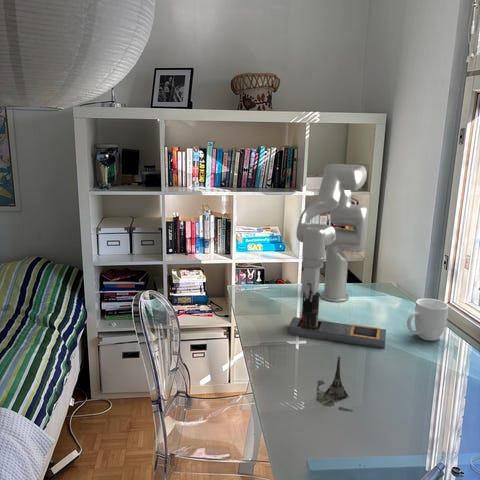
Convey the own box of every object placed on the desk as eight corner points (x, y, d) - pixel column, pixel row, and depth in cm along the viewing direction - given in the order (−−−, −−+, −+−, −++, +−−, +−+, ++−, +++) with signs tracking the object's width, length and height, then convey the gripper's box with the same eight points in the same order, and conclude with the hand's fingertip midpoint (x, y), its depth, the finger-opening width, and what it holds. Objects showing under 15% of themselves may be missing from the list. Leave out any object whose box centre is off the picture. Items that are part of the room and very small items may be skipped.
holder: (293, 324, 185) (293, 316, 185) (385, 337, 175) (386, 329, 175) (287, 334, 176) (288, 326, 175) (384, 348, 166) (385, 339, 165)
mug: (416, 346, 168) (419, 311, 165) (397, 333, 178) (400, 300, 176) (451, 341, 173) (455, 307, 170) (430, 329, 183) (434, 297, 180)
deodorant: (316, 335, 175) (319, 296, 172) (300, 334, 176) (302, 295, 173) (317, 329, 181) (319, 291, 178) (301, 328, 182) (303, 290, 179)
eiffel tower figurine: (317, 381, 144) (319, 339, 142) (352, 385, 143) (355, 343, 140) (315, 408, 130) (317, 363, 127) (353, 413, 128) (357, 367, 125)
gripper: (306, 255, 182) (304, 299, 185) (297, 266, 166) (295, 313, 169) (326, 257, 180) (323, 301, 183) (319, 268, 164) (316, 316, 167)
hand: (310, 307), depth 176 cm, fingers open, 9 cm apart
